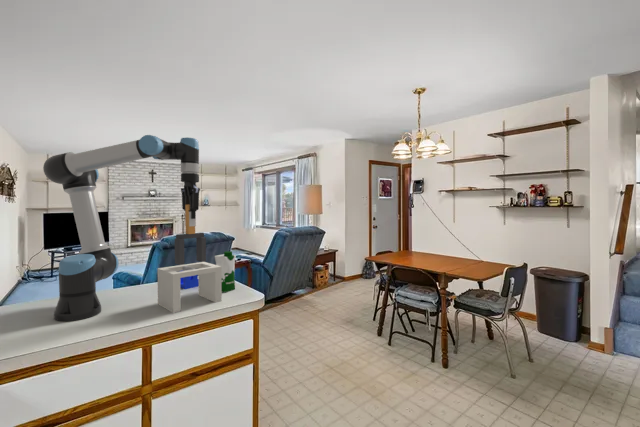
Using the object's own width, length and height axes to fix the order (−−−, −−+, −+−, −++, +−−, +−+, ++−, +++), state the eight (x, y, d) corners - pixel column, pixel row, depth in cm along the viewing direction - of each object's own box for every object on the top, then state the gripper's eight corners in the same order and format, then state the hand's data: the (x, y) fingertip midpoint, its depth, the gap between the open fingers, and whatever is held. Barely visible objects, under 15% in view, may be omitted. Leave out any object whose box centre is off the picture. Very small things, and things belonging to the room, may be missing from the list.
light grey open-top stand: (173, 312, 132) (173, 274, 131) (157, 304, 143) (157, 268, 142) (221, 300, 148) (221, 266, 148) (204, 293, 159) (204, 261, 158)
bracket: (185, 289, 167) (185, 272, 167) (177, 286, 172) (177, 270, 172) (216, 283, 181) (216, 267, 180) (207, 280, 186) (207, 265, 186)
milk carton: (224, 293, 161) (224, 253, 160) (212, 290, 165) (212, 251, 164) (237, 289, 168) (237, 251, 167) (225, 286, 173) (225, 249, 172)
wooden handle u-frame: (179, 265, 139) (179, 204, 138) (174, 263, 142) (174, 204, 141) (205, 261, 148) (205, 204, 147) (200, 259, 151) (200, 204, 150)
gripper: (206, 173, 141) (207, 226, 142) (189, 174, 151) (190, 224, 152) (190, 171, 135) (190, 227, 136) (173, 173, 146) (174, 225, 147)
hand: (190, 225), depth 144 cm, fingers closed on wooden handle u-frame, 3 cm apart
